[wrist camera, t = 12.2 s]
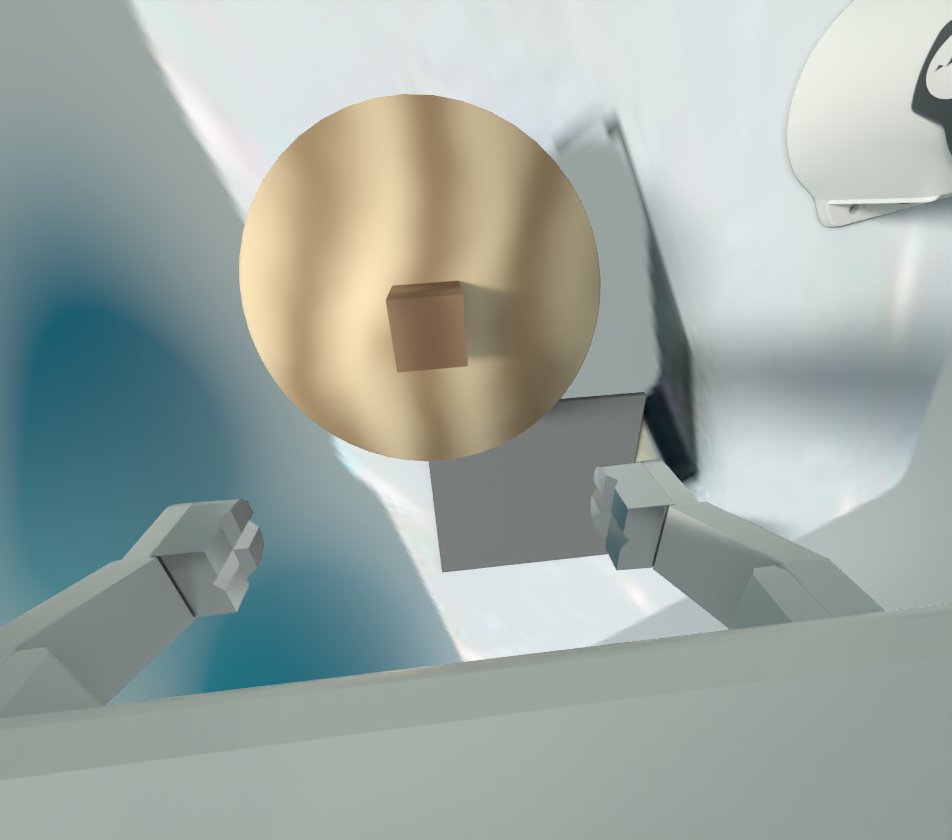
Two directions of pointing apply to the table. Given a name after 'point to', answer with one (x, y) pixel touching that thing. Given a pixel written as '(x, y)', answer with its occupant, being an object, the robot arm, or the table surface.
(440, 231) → the oak bowl cover
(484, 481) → the rubber mat
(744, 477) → the table surface
